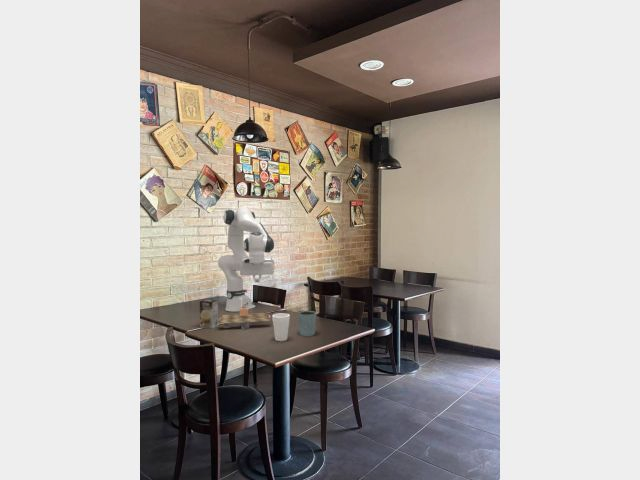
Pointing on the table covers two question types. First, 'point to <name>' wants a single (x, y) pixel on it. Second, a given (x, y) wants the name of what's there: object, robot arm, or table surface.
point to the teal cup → (307, 323)
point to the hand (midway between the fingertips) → (257, 282)
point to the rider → (243, 311)
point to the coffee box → (208, 313)
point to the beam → (243, 319)
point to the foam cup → (281, 326)
